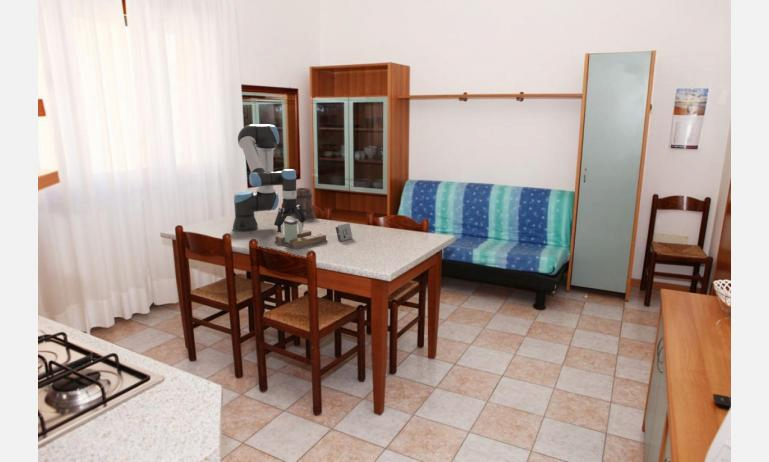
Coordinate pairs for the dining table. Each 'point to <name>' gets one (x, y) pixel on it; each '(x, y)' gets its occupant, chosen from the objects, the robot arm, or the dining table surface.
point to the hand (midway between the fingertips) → (291, 235)
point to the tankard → (304, 203)
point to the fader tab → (290, 230)
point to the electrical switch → (344, 232)
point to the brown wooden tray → (302, 240)
